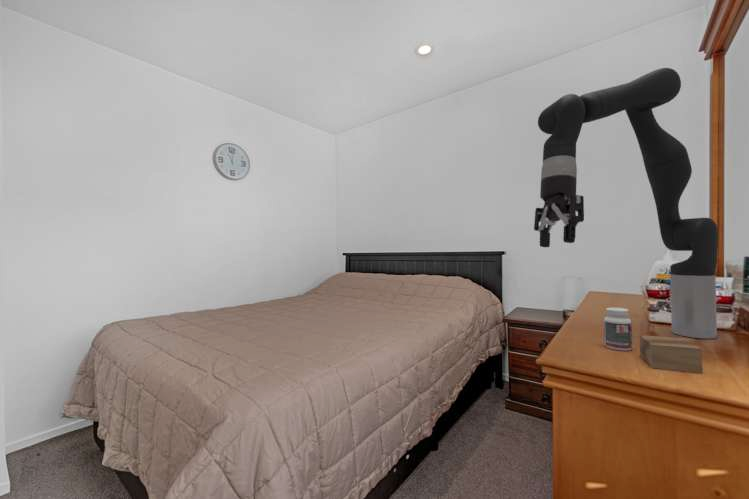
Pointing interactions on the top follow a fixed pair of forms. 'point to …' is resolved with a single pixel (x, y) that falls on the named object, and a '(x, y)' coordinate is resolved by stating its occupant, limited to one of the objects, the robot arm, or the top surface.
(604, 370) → the top surface
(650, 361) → the walnut block
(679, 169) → the robot arm
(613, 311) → the pill bottle
